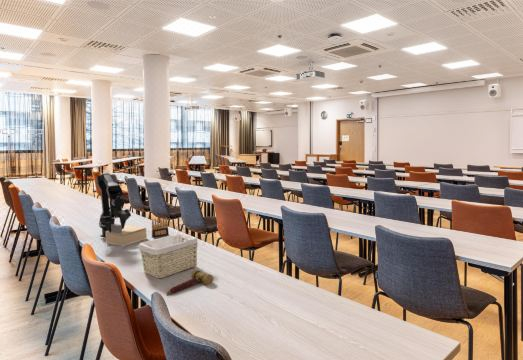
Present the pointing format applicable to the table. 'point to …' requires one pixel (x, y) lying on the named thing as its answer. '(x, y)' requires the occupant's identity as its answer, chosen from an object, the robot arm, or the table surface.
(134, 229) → the mailer lid
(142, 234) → the mailer box
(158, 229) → the ammunition clip
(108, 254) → the table surface
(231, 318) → the table surface
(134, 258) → the table surface
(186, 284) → the gavel
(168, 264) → the storage basket
